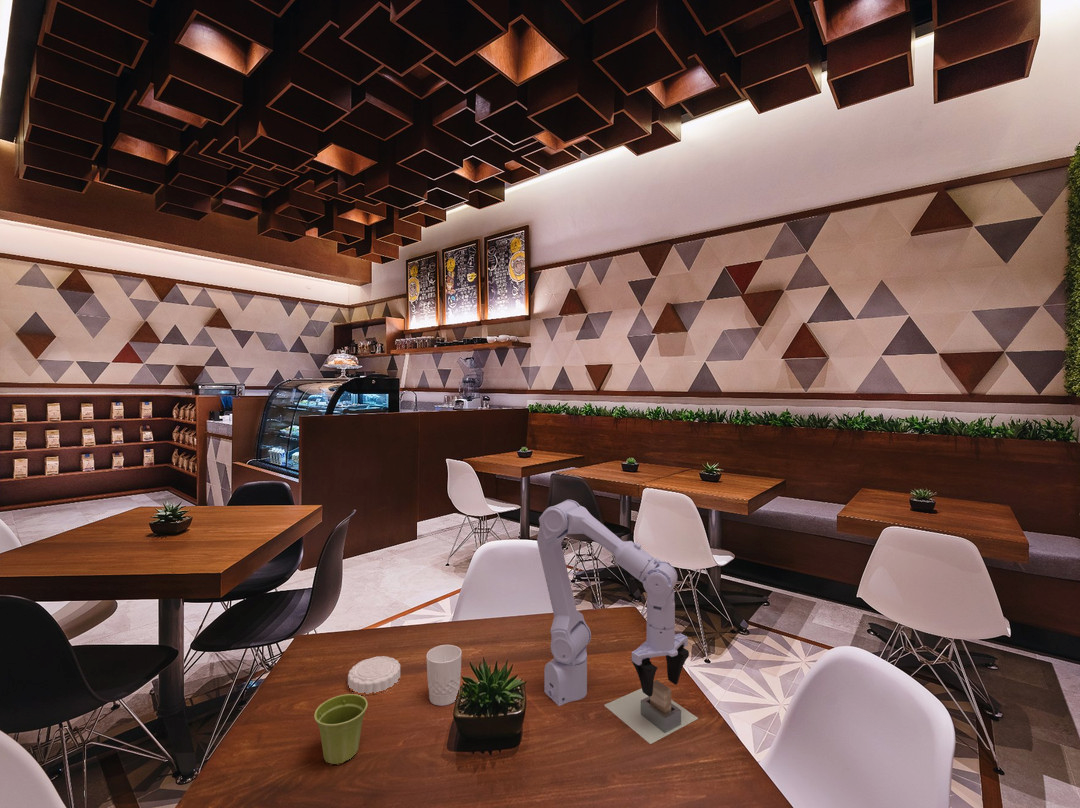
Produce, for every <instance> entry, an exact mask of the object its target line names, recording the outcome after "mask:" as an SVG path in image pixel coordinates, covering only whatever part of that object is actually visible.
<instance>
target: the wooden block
mask: <svg viewBox="0 0 1080 808" xmlns="http://www.w3.org/2000/svg"><path fill="white" fill-rule="evenodd" d="M671 700H672V688H670V687H669V686H667V685H665V684H664V683H662V682H661V681H660V680H658V679H656V680H655V679H654V681H653V693H652V696H650V704H651V705H652V706H653V707H655V708H656V709H657V710H659V711H660V712H661V713H663V714H664V715H665V714H667V713H669V712H671Z"/></svg>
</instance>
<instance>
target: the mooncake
mask: <svg viewBox="0 0 1080 808" xmlns="http://www.w3.org/2000/svg"><path fill="white" fill-rule="evenodd" d="M399 678H400V679H401V663H399V661H398V660H397V659H395V657H389V656H385V655H383V656H382V655H381V656H380V655H379V656H378V655H377V656H375V657H370V658H366V659H363V660H361V661H359V662H357V664H355V665H353V666H352V667H351V669H350V670H349V671H348V675H347V686H348V685H349V688H351V689H353V691H355V692H358V693H364V692H365V693H366V694H369V693H372V692H374V693H376V692H379V691H383V690H386V689H387V688H389V687H392V686H393V685H394V683H397V682H398V683H399V681H398V679H399ZM398 683H397V684H398ZM349 688H348V689H349Z"/></svg>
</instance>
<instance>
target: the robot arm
mask: <svg viewBox="0 0 1080 808" xmlns="http://www.w3.org/2000/svg"><path fill="white" fill-rule="evenodd" d="M538 522H539V527H538V528H539V529H538V532H537V538H536V542H537V548H538V551H539V555H540V561H541V564H542V565H541V566H542V569H543V573H544V578H545V582H546V587H547V591H548V592H547V593H548V596H549V600H550V604H551V605H550V606H551V608H552V612H553V619H552V624H551V628H550V635H551V641H550V651H551V654H552V656H553V658H552V659H551V660H550V661H548V662H547V663H546V664H544V676H543V678H544V681H543V682H544V688H543V689H544V691H543V692H544V693H545V695H547V696H548V697H549V698H550V699H551V700H552V701H553V702H554V703H555V704H556V705H557V706H558V707H560V706H563V705H565V704H567V703H570V702H574V701H579V700H582V699H584V698H585V697H586V696H587V694H588V686H587V685H588V653H587V646H588V645H589V644H590V642H591V639H592V632H591V629H590V627H589V626H588V624H587V623H586V621H585V618H584V614H583V613H582V612H580V611H579V610H578V609H577V605H576V602H575V596H574V593H573V589H572V584H571V580H570V575H569V573H568V567H567V563H566V558H565V555H564V550H563V547H562V542H563V541H564V539H565V538H566V536H567V535H580V534H581V535H585V536H586V537H588V538H590V539H591V540H593V541H594V542H595V543H596V544H598V545H600V546H601V547H603V548H604V549H606V550H608V552H610V553H611V554H613V556H614V559H615V563H616V564H617V565H618V566H620V567H621V568H622V569H624V570H625V571H627V572H628V573H629V574H630V575H631V576H633V577H634V578H635V579H636V580H638V581H639V582H641V583H642V585H643V589H644V590H645V592H646V597H647V598H646V640H645V641H644V642H643V643H641V645H640V646H638V647H637V648H636V649H635V650H633V651H631V657H630V659H631V660H630V661H631V663H632V665H633V666H634V668H635V670H636V673H637V675H638V679H639V682H640V686H641V688H642V691H643V693H645V694H646V695H647V696H649V697H650V696H652V693H653V681H655V675H656V673H657V670H658V666H656V665H654V664H653V663H652V661H651V659H652V658H656V657H665V660H666V671H667V672H666V673H667V680H668V681H669V682H671V683H672V684H673V685H674V686H677V685H678V683H679V681H680V677H681V676H680V675H681V673H682V671H683V667H684V665H685V662H686V661H687V659H688V658H689V656H690V651H689V650H688V649H686V648H685V647H687V646H689V645H688V636H687V635H685V634H682V633H677V634H676V633H675V632H676V629H675V627H676V626H675V624H676V623H675V621H676V619H675V618H676V611H675V610H676V602H675V589H674V588H675V586H676V585H677V583H678V573H677V570H676V568H674V566H673V565H672V564H671V563H670V562H668V561H665V560H661V559H659V557H654V556H652V555H651V554H650V553H648V552H647V551H645V549H643V548H641V547H642V544H641V543H639V542H638V541H636V542H634V541H632V540H628V541H627V540H626V541H624V540H622V539H620V537H618V536H617V535H616V534H615V533H614V532H612V530H610V529H609V528H608V527H607V526H605V525H604V524H603V523H602V522H601V521H599V520H598V519H597V518H595V517H594V516H593V515H592V514H591V513H590V512H589V511H588V509H587V508H586V507H585V506H582V505H581V504H579V502H577V501H575V500H572V499H566V500H563V501H562V502H560V503H558V504H556V505H553V506H549V507H547V508H546V509H545V510H544V511H543V513H542V514H541V515H540V516H539V517H538Z"/></svg>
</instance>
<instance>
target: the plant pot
mask: <svg viewBox="0 0 1080 808" xmlns="http://www.w3.org/2000/svg"><path fill="white" fill-rule="evenodd" d="M367 708H368V700H367V698H366V697H365V696H361V695H358V694H353V693H345V694H341V695H336V696H334V697H330V698H329V699H327V700H325V701H324V702H323V703H321V704H319V705H318V707H317V708H316V710H315V712H314V716H313V717H314V718H313V719H314V720H315V722H316V724H317V727H318V728H319V735H320V741H321V747H322V755H323V759H324V760H325V762H326V763H327V762H328V763H332V764H337V765H339V764H338V763H342V764H343V763H345V762H346V761H350V760H352V759H353V758H354V757H355V756H356V755H357V754H356V752H357V751H359V748H360V746H359V745H360V739H361V731H362V727H363V726H362V725H363V720H364V716H365V714H366V713H365V712H366V711H367ZM357 753H358V752H357ZM355 754H356V755H355ZM354 755H355V756H354ZM353 756H354V757H353ZM352 757H353V758H352ZM351 758H352V759H351ZM349 759H350V760H349ZM328 763H327V764H328ZM332 764H331V765H332Z"/></svg>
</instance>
